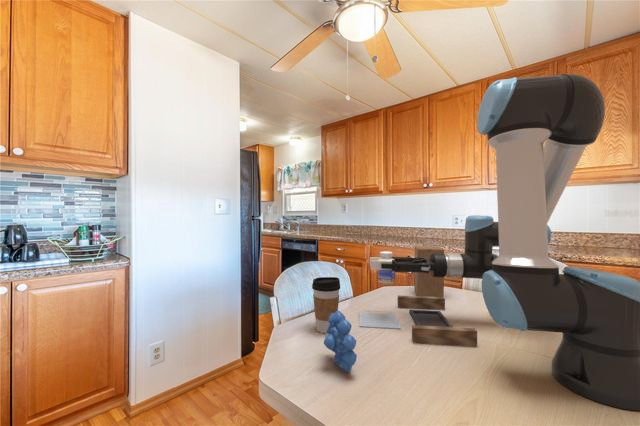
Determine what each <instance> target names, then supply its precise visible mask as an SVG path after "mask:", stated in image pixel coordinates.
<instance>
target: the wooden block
mask: <svg viewBox="0 0 640 426" xmlns="http://www.w3.org/2000/svg"><path fill="white" fill-rule="evenodd" d="M432 253H443V254H444V255H445V249H444V248H442V247H441V246H439V245H414V257H422V258H425V259H427V260H429V259H430V255H431V254H432ZM413 273H414V279H413V280H414V285H413V287H414V288H413V289H414V293H415V296H427V297H444V296H445V295H444V293H445V277H433V276H432V275H431V272H430V271H429V273H421V272H413ZM444 298H445V297H444Z"/></svg>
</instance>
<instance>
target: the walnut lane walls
mask: <svg viewBox="0 0 640 426" xmlns="http://www.w3.org/2000/svg"><path fill="white" fill-rule="evenodd" d="M397 308H398V309H407V310H408V309H409V310H430V311H445V310H446V298H445V297H427V296H416V295H397ZM411 342H412V343H413V344H422V345H423V344H425V345H438V346H439V345H440V346H441V345H442V346H453V347H454V346H456V347H457V346H459V347H472V348H473V347H474V348H476V347H478V330H477V329H476V328H473V327H459V326H458V327H457V326H456V327H454V326H453V327H439V326H420V325H415V324H412V325H411Z"/></svg>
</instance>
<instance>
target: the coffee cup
mask: <svg viewBox="0 0 640 426" xmlns="http://www.w3.org/2000/svg"><path fill="white" fill-rule="evenodd" d="M340 281H341V280H340V278H339V277H337V276H334V277H333V276H325V277H324V276H323V277H321V276H320V277H316V278H313V280H312V284H311V286H312V287H311V289H313V297H312V299H313V307H314V310H313V311H314V318H315V319H314V320H315V330H316V331H317V332H319V333H322V334H328V333H327V329H328V326H329V325H330V323H329V322H328V319H329V317H330V315H331V314H332V313H335V312H336V311H339V301H340V290H341V283H340Z"/></svg>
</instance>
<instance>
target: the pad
mask: <svg viewBox="0 0 640 426" xmlns="http://www.w3.org/2000/svg"><path fill="white" fill-rule="evenodd" d="M358 318H359V319H358V321H359V325H358V326H359V328H367V329H368V328H371V329H390V330H392V329H393V330H401V326H400V324H399V320H398V318H397V315H396V313H391V312H390V313H389V312H371V311H370V312H369V311H358Z"/></svg>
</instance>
